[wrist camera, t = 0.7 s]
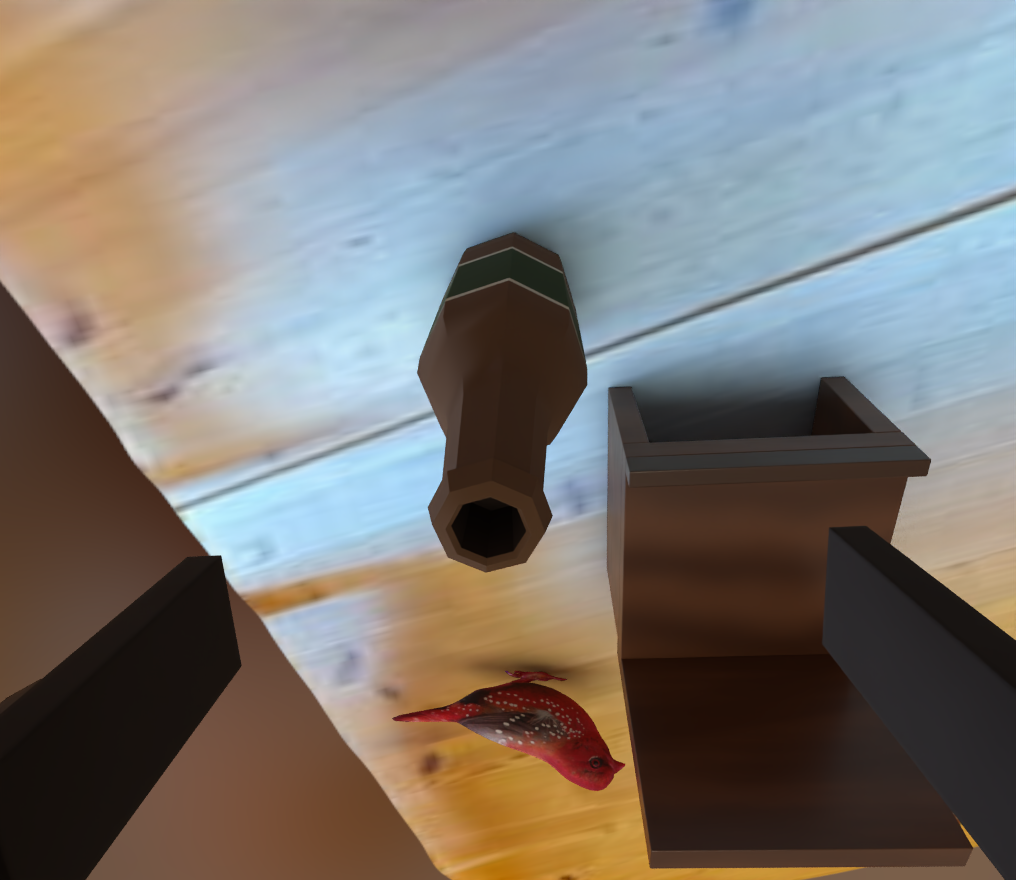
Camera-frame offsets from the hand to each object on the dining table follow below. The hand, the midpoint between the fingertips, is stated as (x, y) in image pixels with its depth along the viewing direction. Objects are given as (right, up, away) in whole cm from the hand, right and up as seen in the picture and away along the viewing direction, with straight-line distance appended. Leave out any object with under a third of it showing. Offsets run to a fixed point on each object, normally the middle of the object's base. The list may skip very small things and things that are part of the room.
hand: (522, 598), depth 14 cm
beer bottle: (0, +12, +26) cm, 29 cm away
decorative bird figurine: (0, -16, +42) cm, 45 cm away
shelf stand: (+14, +1, +32) cm, 35 cm away
